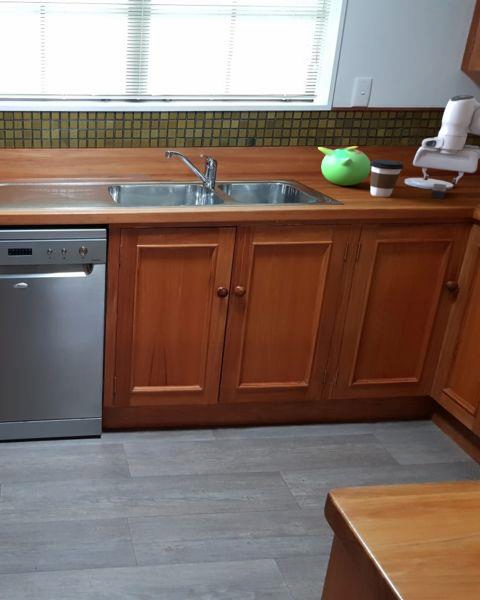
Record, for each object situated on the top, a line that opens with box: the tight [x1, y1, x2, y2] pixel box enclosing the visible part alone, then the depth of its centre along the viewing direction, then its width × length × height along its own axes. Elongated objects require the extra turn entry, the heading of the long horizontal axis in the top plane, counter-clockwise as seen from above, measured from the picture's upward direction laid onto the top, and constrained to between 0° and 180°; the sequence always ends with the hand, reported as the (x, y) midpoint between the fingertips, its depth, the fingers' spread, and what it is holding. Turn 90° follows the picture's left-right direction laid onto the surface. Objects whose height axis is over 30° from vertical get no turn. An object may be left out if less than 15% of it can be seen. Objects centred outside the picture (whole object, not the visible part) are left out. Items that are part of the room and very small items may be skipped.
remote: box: [430, 183, 447, 200], centre depth 222 cm, size 14×4×3 cm, turn 149°
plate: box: [404, 177, 454, 191], centre depth 239 cm, size 17×17×1 cm
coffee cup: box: [369, 158, 405, 198], centre depth 218 cm, size 11×11×12 cm
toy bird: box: [317, 145, 372, 187], centre depth 232 cm, size 18×17×15 cm
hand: (439, 181), depth 222 cm, fingers open, 8 cm apart
